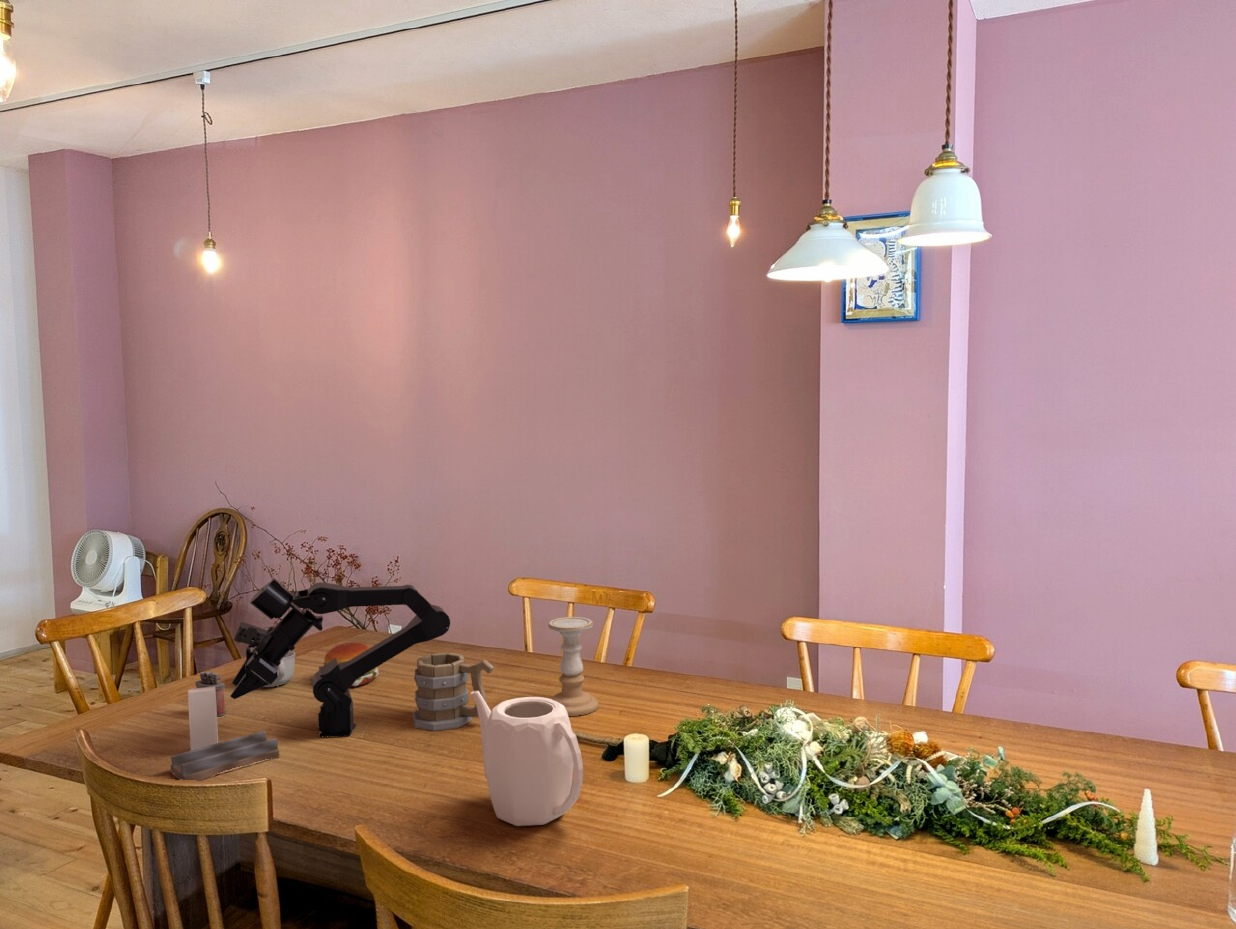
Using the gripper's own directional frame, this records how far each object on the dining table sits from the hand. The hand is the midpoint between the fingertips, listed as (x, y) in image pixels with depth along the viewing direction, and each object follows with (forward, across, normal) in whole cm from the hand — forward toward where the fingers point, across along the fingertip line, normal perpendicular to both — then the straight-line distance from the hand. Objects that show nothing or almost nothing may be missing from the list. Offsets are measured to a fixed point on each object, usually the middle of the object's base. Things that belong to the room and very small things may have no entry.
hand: (233, 690), depth 184 cm
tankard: (-23, +5, +40) cm, 47 cm away
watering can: (-25, +52, +42) cm, 72 cm away
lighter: (+13, -23, +5) cm, 27 cm away
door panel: (+13, 0, +4) cm, 13 cm away
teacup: (+3, -40, +14) cm, 42 cm away
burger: (-10, -35, +27) cm, 45 cm away
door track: (+10, +9, +7) cm, 15 cm away
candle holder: (-42, +6, +59) cm, 73 cm away
